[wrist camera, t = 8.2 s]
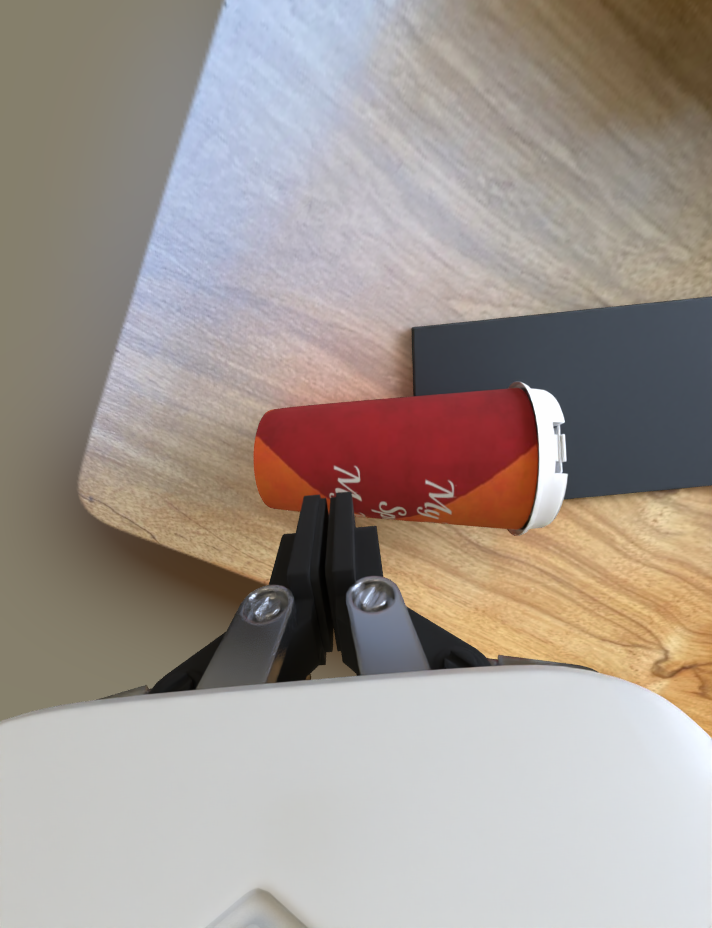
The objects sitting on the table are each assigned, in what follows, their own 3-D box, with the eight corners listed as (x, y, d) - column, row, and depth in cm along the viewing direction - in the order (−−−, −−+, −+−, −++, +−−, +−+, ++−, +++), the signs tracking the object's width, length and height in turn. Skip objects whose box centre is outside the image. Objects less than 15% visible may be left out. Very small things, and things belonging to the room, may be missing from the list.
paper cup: (237, 532, 16) (581, 543, 14) (248, 366, 17) (569, 352, 15) (294, 525, 23) (519, 532, 21) (299, 412, 24) (514, 407, 22)
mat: (416, 509, 25) (417, 513, 24) (411, 327, 20) (413, 328, 19) (849, 467, 24) (861, 471, 24) (957, 271, 19) (975, 270, 19)
